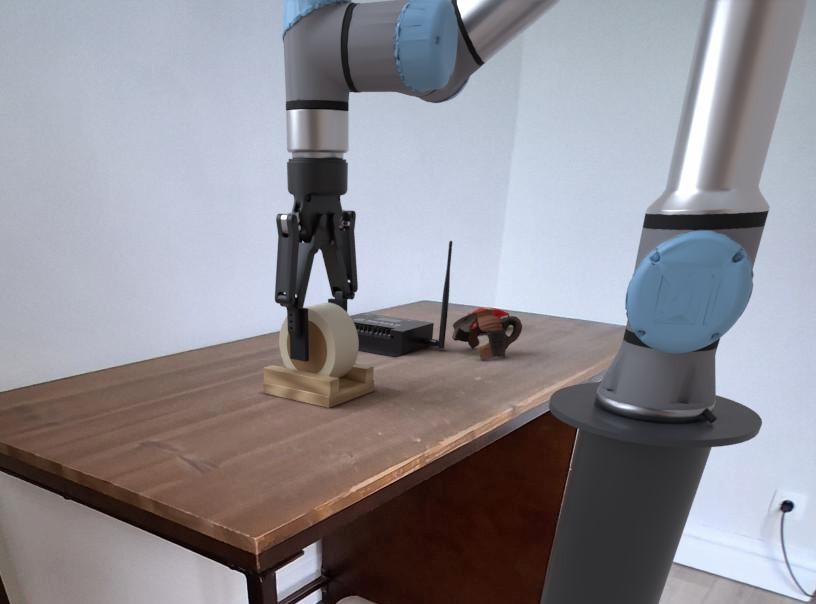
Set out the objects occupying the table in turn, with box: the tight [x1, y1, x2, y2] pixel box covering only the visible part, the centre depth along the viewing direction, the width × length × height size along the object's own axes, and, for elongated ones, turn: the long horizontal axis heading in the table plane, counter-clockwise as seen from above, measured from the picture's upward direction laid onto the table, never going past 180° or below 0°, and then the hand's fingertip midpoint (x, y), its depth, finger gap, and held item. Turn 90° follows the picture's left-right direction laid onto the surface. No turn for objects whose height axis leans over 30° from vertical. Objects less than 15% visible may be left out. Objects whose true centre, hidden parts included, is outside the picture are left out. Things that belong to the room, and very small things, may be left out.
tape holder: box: [262, 362, 375, 409], centre depth 97 cm, size 12×11×4 cm
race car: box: [467, 307, 510, 336], centre depth 135 cm, size 13×5×4 cm, turn 129°
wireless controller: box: [349, 240, 453, 358], centre depth 119 cm, size 20×14×17 cm
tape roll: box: [278, 302, 359, 378], centre depth 94 cm, size 10×6×10 cm, turn 53°
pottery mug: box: [452, 309, 523, 361], centre depth 118 cm, size 12×10×8 cm
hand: (318, 354), depth 95 cm, fingers open, 8 cm apart
